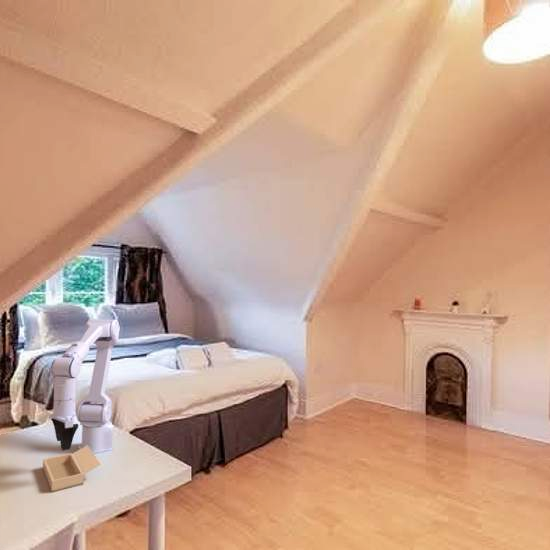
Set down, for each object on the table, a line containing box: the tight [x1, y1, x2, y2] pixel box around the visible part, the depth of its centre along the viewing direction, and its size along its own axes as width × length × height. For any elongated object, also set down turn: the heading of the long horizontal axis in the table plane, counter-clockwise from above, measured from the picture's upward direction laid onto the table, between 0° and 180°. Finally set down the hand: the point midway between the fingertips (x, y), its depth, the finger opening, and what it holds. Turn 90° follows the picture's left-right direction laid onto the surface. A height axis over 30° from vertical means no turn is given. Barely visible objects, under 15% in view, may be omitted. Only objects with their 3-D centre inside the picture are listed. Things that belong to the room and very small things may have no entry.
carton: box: [42, 453, 85, 493], centre depth 123 cm, size 8×16×3 cm, turn 37°
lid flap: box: [72, 445, 101, 475], centre depth 127 cm, size 4×15×1 cm, turn 36°
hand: (63, 444), depth 123 cm, fingers open, 7 cm apart
